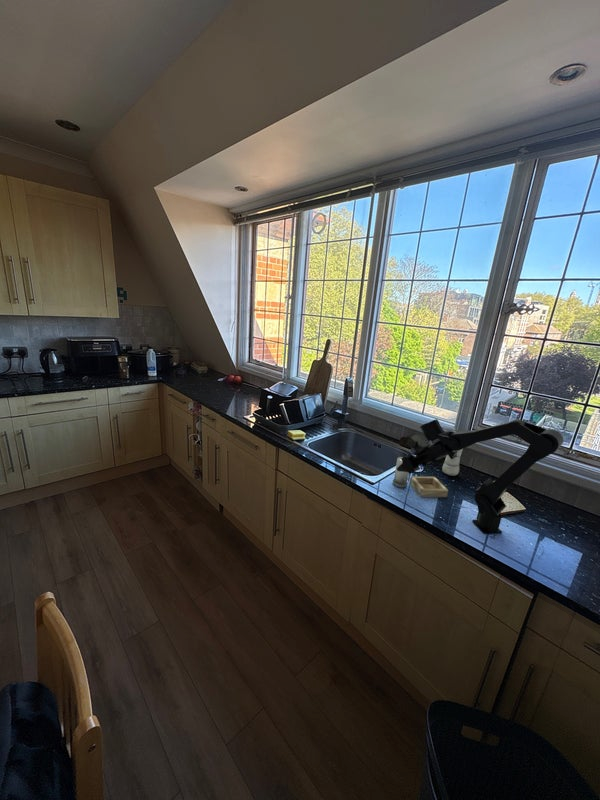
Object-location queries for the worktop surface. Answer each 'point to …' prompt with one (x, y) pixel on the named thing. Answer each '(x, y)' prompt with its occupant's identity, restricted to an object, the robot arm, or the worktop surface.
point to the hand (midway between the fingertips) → (403, 466)
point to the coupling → (400, 476)
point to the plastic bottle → (452, 464)
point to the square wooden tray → (428, 486)
